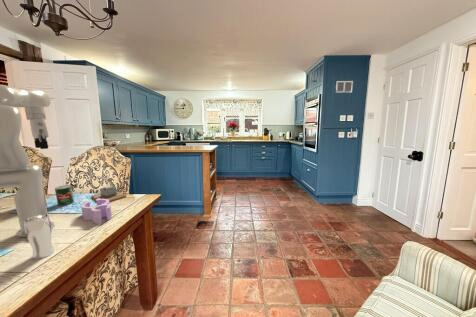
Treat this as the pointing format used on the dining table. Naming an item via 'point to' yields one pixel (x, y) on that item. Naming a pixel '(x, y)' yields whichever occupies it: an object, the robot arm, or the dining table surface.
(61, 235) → the dining table surface
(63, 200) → the canned tomato
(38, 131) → the robot arm
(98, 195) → the dock
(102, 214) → the clip
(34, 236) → the beer glass
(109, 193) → the collar
